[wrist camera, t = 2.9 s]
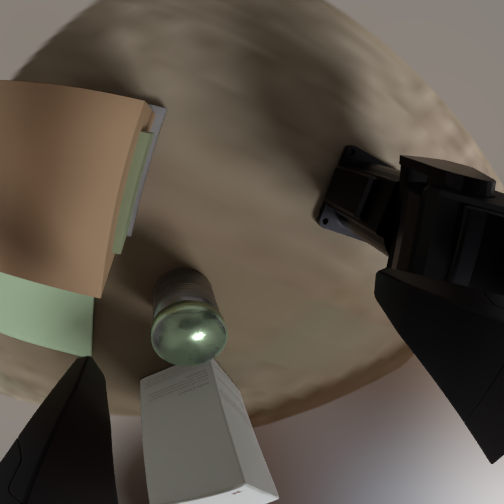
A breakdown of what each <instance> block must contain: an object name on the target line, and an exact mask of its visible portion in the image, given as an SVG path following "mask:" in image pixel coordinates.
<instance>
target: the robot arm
mask: <svg viewBox="0 0 504 504" xmlns="http://www.w3.org/2000/svg"><path fill="white" fill-rule="evenodd" d="M351 149H352V154H351V155H350V150H351ZM399 164H401V170H396V169H393V168H391V167H390V166H388V165H387V164H385V163H383V162H382V161H380V160H378V159H377V158H375V157H373V156H371V155H370V154H368V153H366V152H364V151H363V150H361V149H359V148H357V147H355V146H353V145H347V146H346V147H345V148H344V151H343V154H342V156H341V159H340V162H339V164H338V167H337V168H336V169H335V172H334V175H333V177H332V180H331V182H330V185H329V188H328V190H327V193H326V195H325V200H324V203H323V205H322V208H321V210H320V213H319V215H318V218H317V223H318V225H320V226H321V227H323V228H326V229H329V230H332V231H335V232H338V233H341V234H344V235H347V236H350V237H353V238H356V239H359V240H361V241H364V242H367V243H369V244H370V245H372V246H373V247H375V248H376V249H378V250H379V251H381V252H382V253H383V254H385V255H386V256H388V262H387V267H386V268H384V269H382V270H379V271H378V272H377V273H376V278H375V290H374V294H375V298H376V300H377V302H378V303H379V305H380V306H381V308H382V309H383V311H384V312H385V314H386V315H387V317H388V318H389V320H390V321H391V323H392V325H393V326H394V328H395V329H396V331H397V332H398V333H399V335H400V336H401V337H402V339H403V340H404V341H405V343H406V344H407V345H408V346H409V348H410V349H411V350H412V352H413V353H414V354H415V355H416V357H417V358H418V359H419V361H420V362H421V363H422V365H423V366H424V367H425V369H426V370H427V371H428V372H429V374H430V375H431V376H432V378H433V379H434V381H435V382H436V383H437V385H438V386H439V387H440V389H441V390H442V391H443V393H444V394H445V396H446V397H447V398H448V400H449V401H450V403H451V404H452V406H453V407H454V408H455V410H456V411H457V413H458V414H459V416H460V417H461V419H462V420H463V421H464V423H465V425H466V426H467V427H468V429H469V431H470V432H471V434H472V435H473V437H474V438H475V440H476V441H477V443H478V444H479V446H480V447H481V449H482V450H483V452H484V454H485V455H486V457H487V459H488V460H489V462H490V463H491V464H493V463H494V462H496V461H497V460H498V459H499V458H500V457H502V456H503V455H504V193H501V192H498V191H495V185H496V181H495V180H494V179H492V178H490V177H489V176H487V175H485V174H484V173H482V172H480V171H478V170H476V169H475V168H473V167H469V166H466V165H462V164H458V163H454V162H450V161H446V160H440V159H432V158H424V157H415V156H406V155H400V161H399ZM324 218H326V221H325V222H324V223H322V221H323V219H324ZM0 504H118V497H117V491H116V483H115V474H114V465H113V453H112V439H111V424H110V415H109V408H108V400H107V391H106V381H105V377H104V375H103V373H102V371H101V370H100V369H99V367H98V366H97V364H96V363H95V361H94V360H93V358H92V357H91V356H83V357H79V358H77V359H76V360H75V362H74V363H73V364H72V365H71V367H70V368H69V369H68V370H67V372H66V373H65V374H64V375H63V377H62V378H61V379H60V380H59V382H58V383H57V384H56V386H55V387H54V388H53V389H52V391H51V392H50V393H49V395H48V396H47V397H46V399H45V400H44V401H43V403H42V404H41V405H40V407H39V408H38V409H37V411H36V412H35V414H34V415H33V416H32V418H31V419H30V421H29V422H28V423H27V425H26V426H25V428H24V429H23V430H22V432H21V433H20V435H19V436H18V438H17V439H16V441H15V442H14V443H13V445H12V446H11V448H10V449H9V451H8V452H7V454H6V455H5V457H4V458H3V459H2V461H1V462H0Z"/></svg>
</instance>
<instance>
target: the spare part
mask: <svg viewBox="0 0 504 504" xmlns="http://www.w3.org/2000/svg"><path fill="white" fill-rule="evenodd" d="M227 338H228V332H227V328H226V325H225V322H224V319H223V317H222V315H221V314H220V312H219V309H218V306H217V303H216V299H215V296H214V293H213V290H212V287H211V284H210V282H209V281H208V279H207V278H206V277H205V276H204V275H203V274H201V273H200V272H198V271H195V270H192V269H187V268H181V269H175V270H172V271H169V272H167V273H166V274H164V275H163V276H162V277H161V278H160V279H159V280H158V281H157V283H156V285H155V287H154V291H153V322H152V326H151V342H152V346H153V348H154V350H155V352H156V353H157V354H158V355H159V356H160V357H161V358H162V359H164V360H165V361H167V362H169V363H172V364H175V365H180V366H196V365H200V364H204V363H206V362H208V361H210V360H212V359H214V358H215V357H216V356H218V355H219V354H220V353H221V352H222V350H223V349H224V347H225V345H226V343H227Z"/></svg>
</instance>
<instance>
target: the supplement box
mask: <svg viewBox="0 0 504 504" xmlns="http://www.w3.org/2000/svg"><path fill="white" fill-rule="evenodd" d="M140 400H141V422H142V423H141V424H142V437H143V451H144V461H145V471H146V480H147V486H148V495H149V501H150V504H266V503H269V502H272V501H274V500H277V499H279V496H278V493H277V490H276V488H275V485H274V482H273V480H272V477H271V475H270V472H269V470H268V467H267V465H266V462H265V460H264V457H263V455H262V452H261V449H260V447H259V444H258V442H257V439H256V437H255V434H254V431H253V428H252V425H251V423H250V420H249V417H248V414H247V412H246V409H245V406H244V403H243V400H242V397H241V394H240V391H239V390H238V389H237V387H236V386H235V385H234V383H233V382H232V381H231V380H230V379H229V377H228V376H227V375H226V374H225V372H224V371H223V370H222V369H221V367H220V366H219V365H218V363H217V362H216V361H215V360H214V359H212V360H210V361H208V362H206V363H204V364H200V365H196V366H180V365H174V366H172V367H169V368H167V369H165V370H162V371H160V372H157V373H155V374H153V375H150V376H147V377H145V378H143V379H141V381H140Z"/></svg>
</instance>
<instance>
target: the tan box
mask: <svg viewBox="0 0 504 504" xmlns="http://www.w3.org/2000/svg"><path fill="white" fill-rule="evenodd" d="M166 112H167V109H166V108H162V107H159V106H155V105H151V104H147V103H146V102H145V101H143V100H138V99H134V98H130V97H125V96H120V95H115V94H110V93H105V92H100V91H94V90H89V89H83V88H76V87H69V86H62V85H54V84H46V83H36V82H25V81H9V80H0V272H2V273H5V274H8V275H12V276H15V277H18V278H22V279H25V280H29V281H32V282H36V283H39V284H43V285H47V286H51V287H54V288H58V289H62V290H66V291H70V292H74V293H78V294H83V295H87V296H91V297H96V298H100V299H101V296H102V293H103V289H104V286H105V283H106V280H107V277H108V274H109V271H110V268H111V265H112V262H113V259H114V256H115V253H116V254H121V252H122V249H123V246H124V242H125V239H126V236H130V237H131V235H132V232H133V227H134V223H135V218H136V214H137V210H138V206H139V201H140V197H141V194H142V190H143V186H144V182H145V178H146V175H147V171H148V168H149V164H150V161H151V157H152V154H153V151H154V148H155V144H156V141H157V138H158V135H159V132H160V129H161V126H162V123H163V120H164V117H165V114H166Z"/></svg>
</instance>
